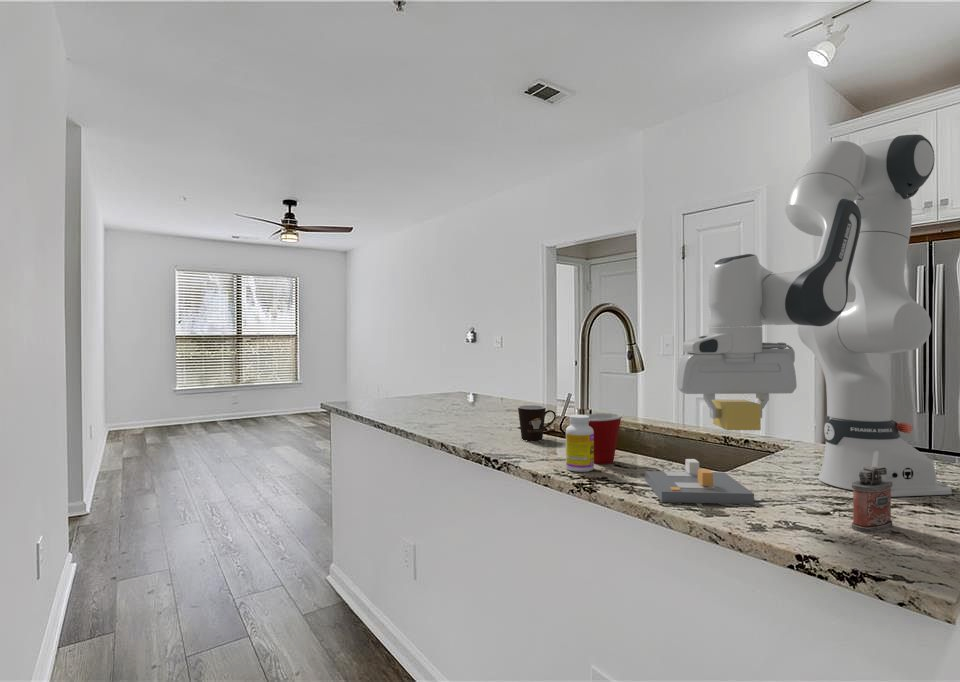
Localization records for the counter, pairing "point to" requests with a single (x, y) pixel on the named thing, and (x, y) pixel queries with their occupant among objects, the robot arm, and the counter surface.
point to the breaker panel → (697, 488)
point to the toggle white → (691, 466)
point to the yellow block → (738, 415)
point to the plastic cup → (605, 436)
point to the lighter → (872, 501)
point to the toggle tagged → (705, 477)
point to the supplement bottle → (579, 444)
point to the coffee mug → (533, 421)
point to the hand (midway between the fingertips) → (735, 418)
